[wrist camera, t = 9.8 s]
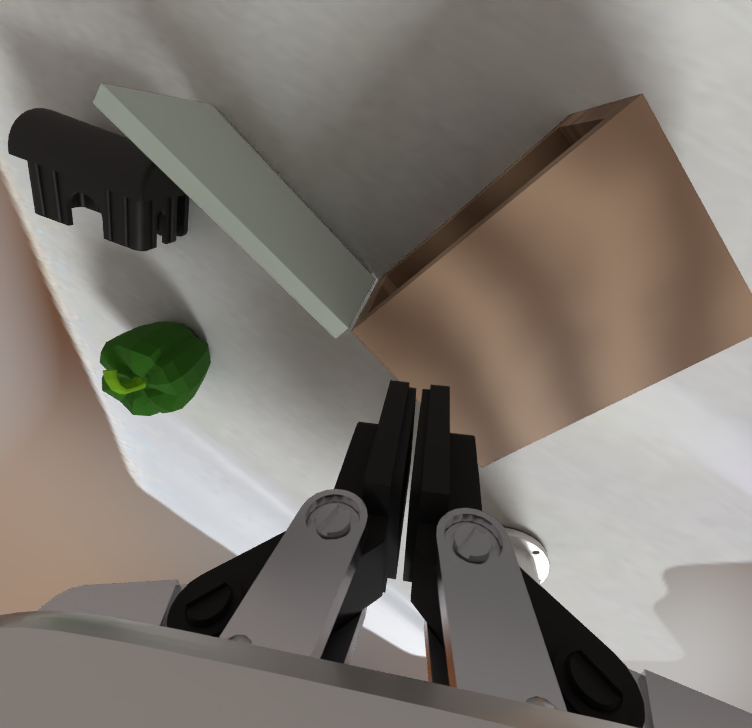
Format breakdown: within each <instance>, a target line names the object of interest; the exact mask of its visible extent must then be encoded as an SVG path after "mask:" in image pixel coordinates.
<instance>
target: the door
mask: <svg viewBox="0 0 752 728" xmlns="http://www.w3.org/2000/svg"><path fill="white" fill-rule="evenodd" d="M93 104H94V105H95V106H96V107H97V108H98V109H99V110H100V111H101V112H102V113H103V114H104V115H105V116H106V117H107V118H108V119H109V120H110V121H111V122H112V123H113V124H115V125H116V126H117V127H118V128H119V129H120V130H121V131H122V132H123V133H124V134H125V135H126V136H127V137H128V138H129V139H130V140H131V141H132V142H133V143H134V144H135V145H136V146H137V147H138V148H139V149H140V150H141V151H142V152H143V153H144V154H145V155H146V156H147V157H149V158H150V159H151V160H152V161H153V162H154V163H155V164H156V165H157V166H158V167H159V168H160V169H161V170H162V171H163V172H164V173H165V174H166V175H167V176H168V177H169V178H170V179H171V180H172V181H173V182H174V183H175V184H176V185H177V186H178V187H179V188H180V189H182V190H183V191H184V192H185V193H186V194H187V195H188V196H189V197H190V198H191V199H192V200H193V201H194V202H195V203H196V204H197V205H198V206H199V207H200V208H201V209H202V210H203V211H204V212H205V213H206V214H207V215H208V216H209V217H210V218H211V219H212V220H213V221H214V222H216V223H217V224H218V225H219V226H220V227H221V228H222V229H223V230H224V231H225V232H226V233H227V234H228V235H229V236H230V237H231V238H232V239H233V240H234V241H235V242H236V243H237V244H238V245H239V246H240V247H241V248H242V249H243V250H244V251H245V252H246V253H247V254H249V255H250V256H251V257H252V258H253V259H254V260H255V261H256V262H257V263H258V264H259V265H260V266H261V267H262V268H263V269H264V270H265V271H266V272H267V273H268V274H269V275H270V276H271V277H272V278H273V279H274V280H275V281H276V282H277V283H278V284H279V285H280V286H281V287H283V288H284V289H285V290H286V291H287V292H288V293H289V294H290V295H291V296H292V297H293V298H294V299H295V300H296V301H297V302H298V303H299V304H300V305H301V306H302V307H303V308H304V309H305V310H306V311H307V312H308V313H309V314H310V315H311V316H312V317H313V318H314V319H316V320H317V321H318V322H319V323H320V324H321V325H322V326H323V327H324V328H325V329H326V330H327V331H328V332H329V333H330V334H331V335H332V336H333V337H334V338H335V339H336V338H338V337H339V336H340V335H341V334H342V333H343V332H344V331H345V330H347V329H348V328H349V326H350V324H351V322H352V320H353V319H354V317H355V315H356V313H357V311H358V310H359V308H360V306H361V304H362V302H363V301H364V299H365V297H366V295H367V293H368V292H369V290H370V288H371V286H372V284H373V283H374V281H375V278H374V277H373V276H372V275H371V274H370V273H369V272H368V271H367V270H366V269H365V268H364V267H363V265H362V264H361V263H360V262H359V261H358V260H357V259H356V258H355V257H354V256H353V255H352V254H351V253H350V252H349V251H348V249H347V248H346V247H345V246H344V245H343V244H342V243H341V242H340V241H339V240H338V239H337V238H336V237H335V236H334V235H333V233H332V232H331V231H330V230H329V229H328V228H327V227H326V226H325V225H324V224H323V223H322V222H321V221H320V220H319V219H318V217H317V216H316V215H315V214H314V213H313V212H312V211H311V210H310V209H309V208H308V207H307V206H306V205H305V204H304V203H303V202H302V200H301V199H300V198H299V197H298V196H297V195H296V194H295V193H294V192H293V191H292V190H291V189H290V188H289V187H288V186H287V184H286V183H285V182H284V181H283V180H282V179H281V178H280V177H279V176H278V175H277V174H276V173H275V172H274V171H273V170H272V168H271V167H270V166H269V165H268V164H267V163H266V162H265V161H264V160H263V159H262V158H261V157H260V156H259V155H258V154H257V152H256V151H255V150H254V149H253V148H252V147H251V146H250V145H249V144H248V143H247V142H246V141H245V140H244V139H243V138H242V136H241V135H240V134H239V133H238V132H237V131H236V130H235V129H234V128H233V127H232V126H231V125H230V124H229V123H228V122H227V120H226V119H225V118H224V117H223V116H222V115H221V114H220V113H219V112H218V111H217V110H216V109H215V108H214V107H213V106H212V105H211V104H207V103H202V102H197V101H192V100H186V99H181V98H176V97H171V96H166V95H160V94H155V93H150V92H145V91H139V90H134V89H129V88H124V87H119V86H113V85H108V84H103V83H101V85H100V87H99V89H98V91H97V94H96V96H95V98H94V101H93Z"/></svg>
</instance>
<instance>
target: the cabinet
mask: <svg viewBox="0 0 752 728" xmlns="http://www.w3.org/2000/svg"><path fill="white" fill-rule="evenodd" d="M351 332H352V333H353V334H354V335H355V336H356V337H357V338H358V339H359V340H360V341H361V342H362V343H363V344H364V345H365V346H366V347H367V348H368V349H369V350H370V352H371V353H372V354H373V355H374V356H375V357H376V358H377V359H378V360H379V361H380V362H381V363H382V364H383V365H384V366H385V367H386V368H387V369H388V370H389V371H390V372H391V373H392V374H393V375H394V377H395V378H396V379H397V380H398V381H402V382H410V387H412V388H416V399H417V401H418V402H419V403H420V404H421V397H422V389H430V385H431V384H432V385H442V386H450V433H457V434H466V435H474V436H475V440H476V451H477V462H478V464H479V465H480V466H481V467H484V466H486V465H488V464H490V463H492V462H494V461H496V460H498V459H500V458H502V457H504V456H506V455H509V454H511V453H513V452H515V451H517V450H519V449H521V448H523V447H525V446H527V445H529V444H531V443H533V442H535V441H537V440H539V439H541V438H544V437H546V436H548V435H550V434H552V433H554V432H556V431H558V430H560V429H562V428H564V427H566V426H568V425H570V424H572V423H574V422H576V421H579V420H581V419H583V418H585V417H587V416H589V415H591V414H593V413H595V412H597V411H599V410H601V409H603V408H605V407H607V406H609V405H611V404H614V403H616V402H618V401H620V400H622V399H624V398H626V397H628V396H630V395H632V394H634V393H636V392H638V391H640V390H642V389H644V388H646V387H649V386H651V385H653V384H655V383H657V382H659V381H661V380H663V379H665V378H667V377H669V376H671V375H673V374H675V373H677V372H679V371H681V370H684V369H686V368H688V367H690V366H692V365H694V364H696V363H698V362H700V361H702V360H704V359H706V358H708V357H710V356H712V355H714V354H716V353H719V352H721V351H723V350H725V349H727V348H729V347H731V346H733V345H735V344H737V343H739V342H741V341H743V340H745V339H747V338H749V337H752V293H751V292H750V290H749V288H748V286H747V284H746V282H745V281H744V279H743V277H742V275H741V273H740V271H739V270H738V268H737V266H736V264H735V262H734V260H733V259H732V257H731V255H730V253H729V251H728V249H727V248H726V246H725V244H724V242H723V240H722V238H721V237H720V235H719V233H718V231H717V229H716V227H715V226H714V224H713V222H712V220H711V218H710V216H709V215H708V213H707V211H706V209H705V207H704V205H703V204H702V202H701V200H700V198H699V196H698V194H697V193H696V191H695V189H694V187H693V185H692V183H691V182H690V180H689V178H688V176H687V174H686V172H685V171H684V169H683V167H682V165H681V163H680V161H679V160H678V158H677V156H676V154H675V152H674V150H673V149H672V147H671V145H670V143H669V141H668V139H667V138H666V136H665V134H664V132H663V130H662V128H661V127H660V125H659V123H658V121H657V119H656V117H655V116H654V114H653V112H652V110H651V108H650V106H649V105H648V103H647V101H646V99H645V97H644V95H643V94H639V95H636V96H632V97H629V98H625V99H622V100H618V101H615V102H611V103H608V104H604V105H601V106H598V107H594V108H591V109H587V110H584V111H580V112H577V113H573V114H571V115H569V116H568V117H567V118H566V119H565V120H564V121H562V122H561V123H560V124H559V125H558V126H557V127H555V128H554V129H553V130H552V131H551V132H550V133H549V134H547V135H546V136H545V137H544V138H543V139H542V140H540V141H539V142H538V143H537V144H536V145H535V146H533V147H532V148H531V149H530V150H529V151H528V152H527V153H525V154H524V155H523V156H522V157H521V158H520V159H518V160H517V161H516V162H515V163H514V164H513V165H511V166H510V167H509V168H508V169H507V170H506V171H505V172H503V173H502V174H501V175H500V176H499V177H498V178H496V179H495V180H494V181H493V182H492V183H491V184H489V185H488V186H487V187H486V188H485V189H484V190H483V191H481V192H480V193H479V194H478V195H477V196H476V197H474V198H473V199H472V200H471V201H470V202H469V203H467V204H466V205H465V206H464V207H463V208H462V209H461V210H459V211H458V212H457V213H456V214H455V215H454V216H452V217H451V218H450V219H449V220H448V221H447V222H445V223H444V224H443V225H442V226H441V227H440V228H439V229H437V230H436V231H435V232H434V233H433V234H432V235H430V236H429V237H428V238H427V239H426V240H425V241H423V242H422V243H421V244H420V245H419V246H418V247H417V248H415V249H414V250H413V251H412V252H411V253H410V254H408V255H407V256H406V257H405V258H404V259H403V260H401V261H400V262H399V263H398V264H397V265H396V266H395V267H393V268H392V269H391V270H390V271H389V272H388V273H386V274H385V275H384V276H383V277H382V278H381V279H379V280H378V282H377V284H376V286H375V288H374V290H373V292H372V293H371V295H370V297H369V299H368V301H367V303H366V305H365V307H364V309H363V310H362V312H361V314H360V316H359V318H358V320H357V322H356V324H355V326H354V328H353V329H352V331H351Z"/></svg>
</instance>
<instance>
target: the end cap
mask: <svg viewBox="0 0 752 728" xmlns="http://www.w3.org/2000/svg"><path fill="white" fill-rule="evenodd" d="M8 151H9V154H11V155H14V156H16V157H19V158H22V159H24V160H27V162H28V168H29V175H30V181H31V188H32V194H33V201H34V207H35V213H36V214H38V215H41V216H44V217H46V218H49V219H52V220H55V221H57V222H60V223H63V224H65V225H68V226H69V225H73V218H72V209H71V208H75V207H86V208H88V209H91V210H94V211H97V212H99V213H101V214H102V218H103V232H104V239H106V240H109V241H112V242H114V243H117V244H120V245H123V246H125V247H128V248H131V249H133V250H137V251H147V250H150V249H153V248H156V247H157V234H159V235H162V243H165V244H168V243H171V242H175V241H176V236H184V235H186V234H187V231H188V213H189V196H188V195H187V194H186V193H185V192H184V191H183V190H182V189H180V188H179V187H178V186H177V185H176V184H175V183H174V182H173V181H172V180H171V179H170V178H169V177H168V176H167V175H166V174H165V173H164V172H163V171H162V170H161V169H160V168H159V167H158V166H157V165H156V164H155V163H154V162H153V161H152V160H151V159H150V158H149V157H147V156H146V155H145V154H144V153H143V152H142V151H141V150H140V149H139V148H138V147H137V146H136V145H135V144H134V143H133V142H132V141H131V140H130V139H127V138H125V137H122V136H119V135H117V134H114V133H111V132H109V131H106V130H103V129H101V128H98V127H95V126H93V125H90V124H87V123H85V122H82V121H79V120H76V119H74V118H71V117H68V116H66V115H63V114H60V113H58V112H55V111H52V110H49V109H44V108H35V109H31V110H28V111H26V112H24V113H23V114H21V115H20V116H19V117H18V118H17V119H16V120H15V122H14V124H13V125H12V127H11V130H10V133H9V139H8Z"/></svg>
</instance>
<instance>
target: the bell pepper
mask: <svg viewBox="0 0 752 728" xmlns="http://www.w3.org/2000/svg"><path fill="white" fill-rule="evenodd" d="M100 363H101V364H102V365H103V366H104V367H105V368H106V369H107V370H103V374H104V375H103V377H102V390H103V391H104V392H106V393H107V394H109V395H111V396H112V397H114V398H116V399H117V400H119V401H120V402H121V403H122V404H123V405H124V406H125V407H126V408H127V409H128V410H129V411H130V412H131V413H132V414H133V415H144V416H151V415H154V414H157V413H159V412H161V413H168V412H173V411H176V410H179V409H182V408H183V407H184V406H185V405H186V404H187V403H188V402H189V401H190V400H191V399H192V398H193V397H194V395H195V394H196V392H197V390H198V389H199V387H200V385H201V383H202V381H203V379H204V377H205V375H206V373H207V371H208V368H209V365H210V363H211V361H210V354H209V349H208V346H207V345H206V344H205V343H204V342H203V341H202V340H201V339H200V338H198V337H195V336H194V334H193V332H192V331H191V330H190V329H189V328H188V327H186V326H185V325H184V324H179V323H173V322H167V321H164V322H157V323H152V324H148V325H143V326H139V327H137V328H134V329H132V330H130V331H127V332H125V333H123V334H121V335H119V336H117V337H115V338H113V339H112V340H110V341H108V342H106V344H105V346H104V347H103V349H102V351H101V356H100Z"/></svg>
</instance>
